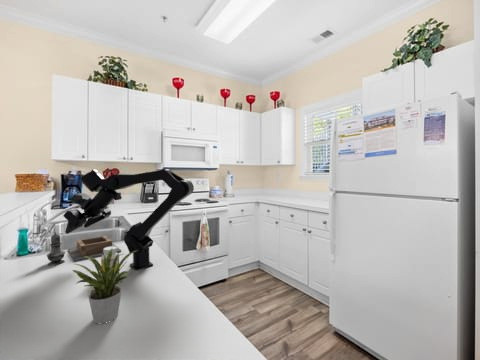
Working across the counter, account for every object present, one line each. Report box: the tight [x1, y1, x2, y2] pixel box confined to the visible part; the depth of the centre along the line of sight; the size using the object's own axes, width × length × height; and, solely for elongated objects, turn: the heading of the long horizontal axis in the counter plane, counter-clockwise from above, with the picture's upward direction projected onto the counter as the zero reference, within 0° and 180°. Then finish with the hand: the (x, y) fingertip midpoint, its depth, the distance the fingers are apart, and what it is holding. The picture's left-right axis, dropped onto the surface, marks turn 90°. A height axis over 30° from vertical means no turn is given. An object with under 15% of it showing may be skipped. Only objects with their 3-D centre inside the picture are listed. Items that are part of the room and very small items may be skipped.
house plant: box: [72, 249, 138, 324], centre depth 60 cm, size 14×14×16 cm
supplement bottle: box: [100, 245, 120, 278], centre depth 82 cm, size 5×5×10 cm
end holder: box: [67, 235, 122, 263], centre depth 107 cm, size 18×17×5 cm
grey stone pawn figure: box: [46, 232, 66, 267], centre depth 94 cm, size 6×6×12 cm
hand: (75, 229), depth 93 cm, fingers open, 9 cm apart
